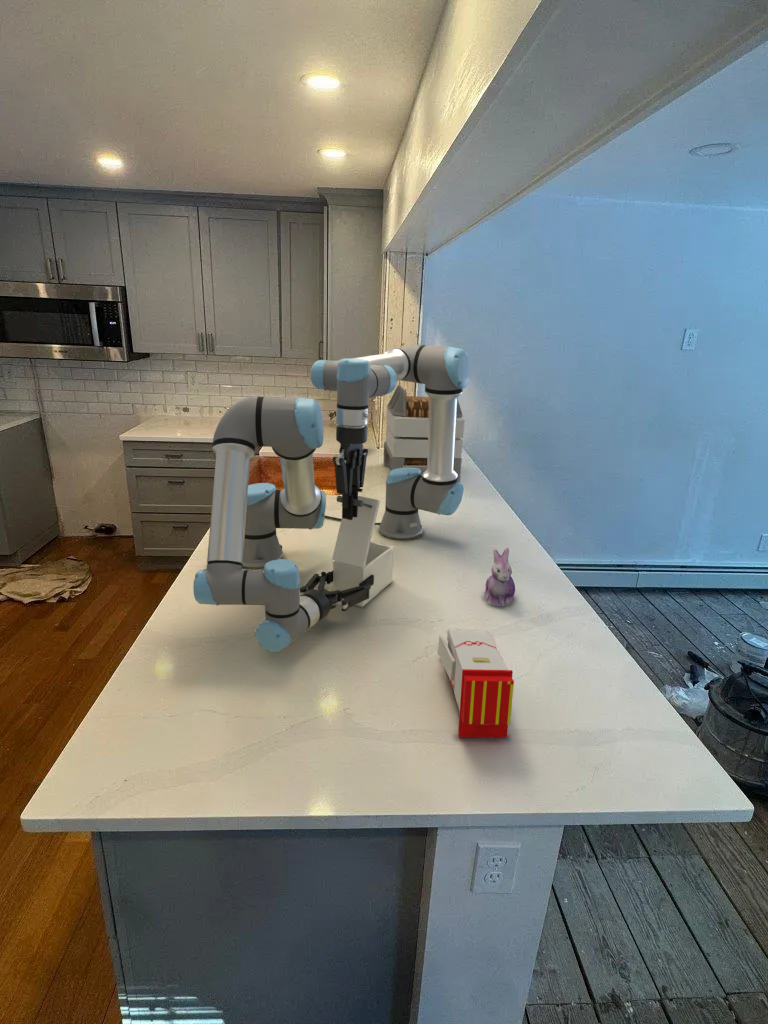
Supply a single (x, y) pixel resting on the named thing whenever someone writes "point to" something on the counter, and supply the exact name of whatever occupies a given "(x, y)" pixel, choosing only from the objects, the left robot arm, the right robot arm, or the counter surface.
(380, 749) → the counter surface
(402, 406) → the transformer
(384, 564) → the chest
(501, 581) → the figurine
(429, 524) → the counter surface
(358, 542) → the lid
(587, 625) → the counter surface
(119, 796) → the counter surface
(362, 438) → the right robot arm
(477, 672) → the toy
